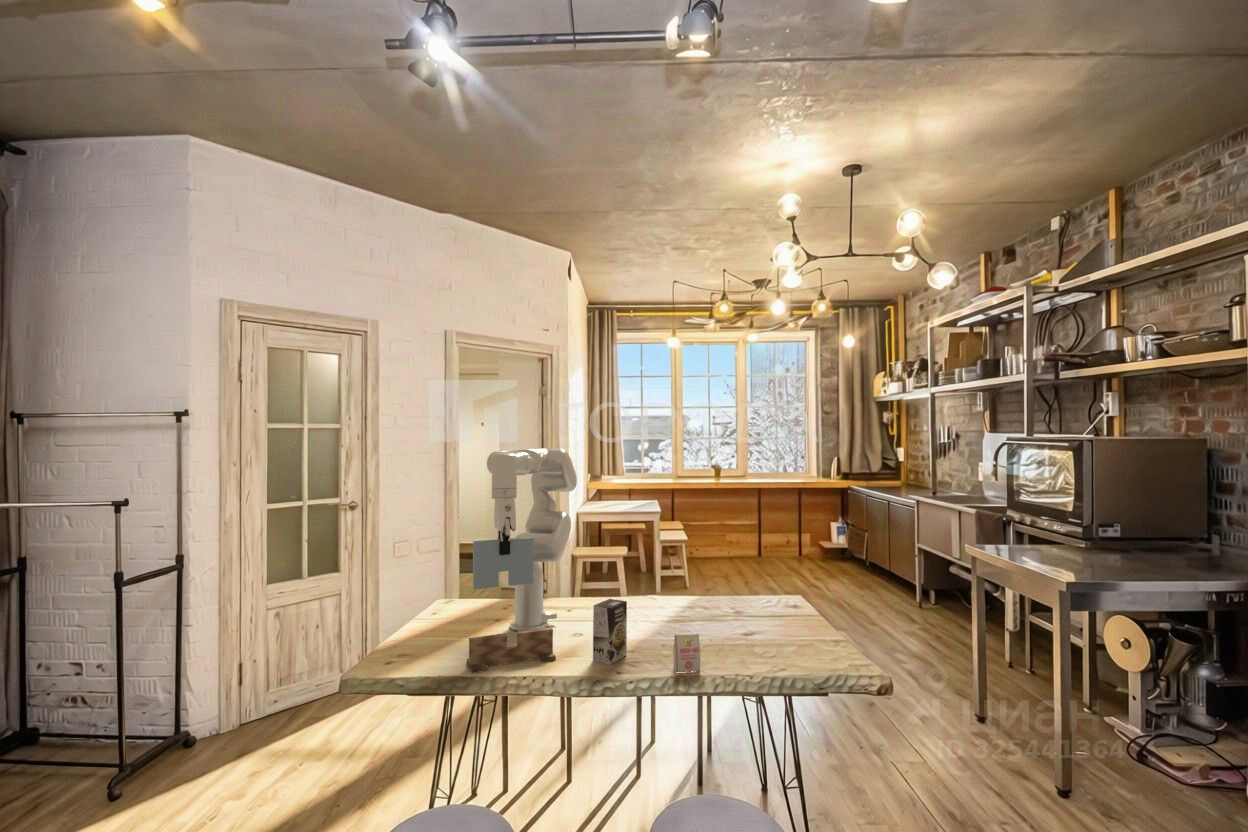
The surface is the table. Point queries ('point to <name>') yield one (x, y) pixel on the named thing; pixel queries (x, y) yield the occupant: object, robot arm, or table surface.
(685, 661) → the white carton
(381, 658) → the table surface
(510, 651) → the slotted board
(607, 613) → the coffee box
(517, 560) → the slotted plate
